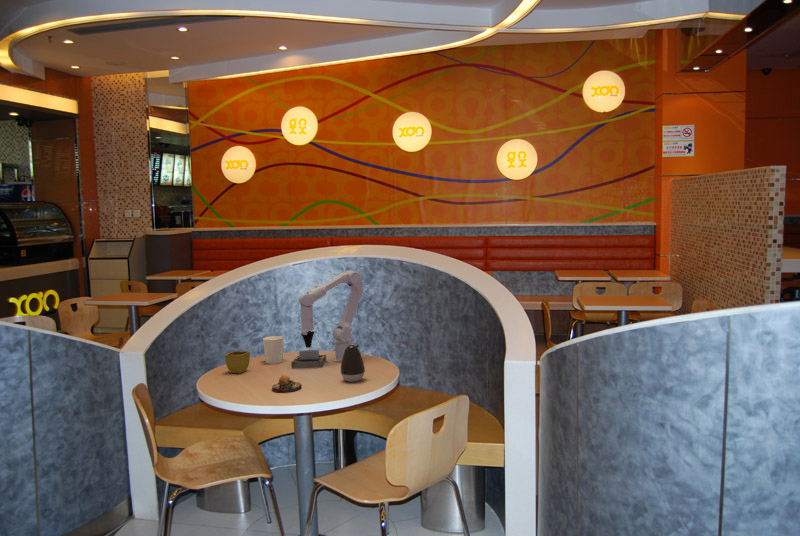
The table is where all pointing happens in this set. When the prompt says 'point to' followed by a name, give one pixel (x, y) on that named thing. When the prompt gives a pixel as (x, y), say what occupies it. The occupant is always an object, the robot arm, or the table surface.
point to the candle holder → (273, 349)
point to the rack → (309, 362)
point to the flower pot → (237, 361)
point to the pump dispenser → (352, 364)
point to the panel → (309, 354)
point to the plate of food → (286, 385)
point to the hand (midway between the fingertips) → (308, 347)
